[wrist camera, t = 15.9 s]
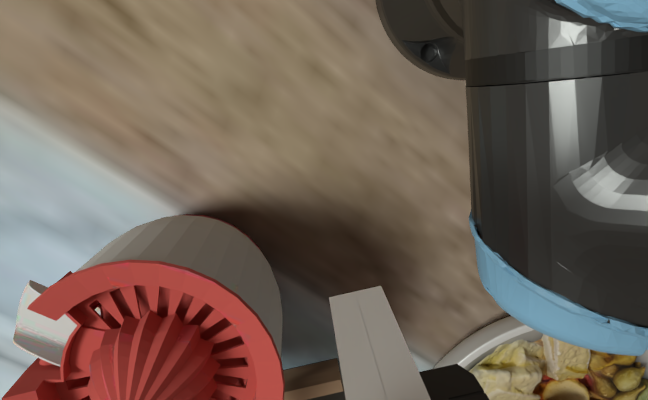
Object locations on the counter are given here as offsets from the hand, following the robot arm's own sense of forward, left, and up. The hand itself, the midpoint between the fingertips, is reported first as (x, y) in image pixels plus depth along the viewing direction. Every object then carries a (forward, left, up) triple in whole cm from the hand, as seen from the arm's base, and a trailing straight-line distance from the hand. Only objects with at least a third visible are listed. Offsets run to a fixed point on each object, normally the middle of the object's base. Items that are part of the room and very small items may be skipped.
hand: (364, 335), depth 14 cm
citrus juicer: (+13, +7, -30) cm, 33 cm away
